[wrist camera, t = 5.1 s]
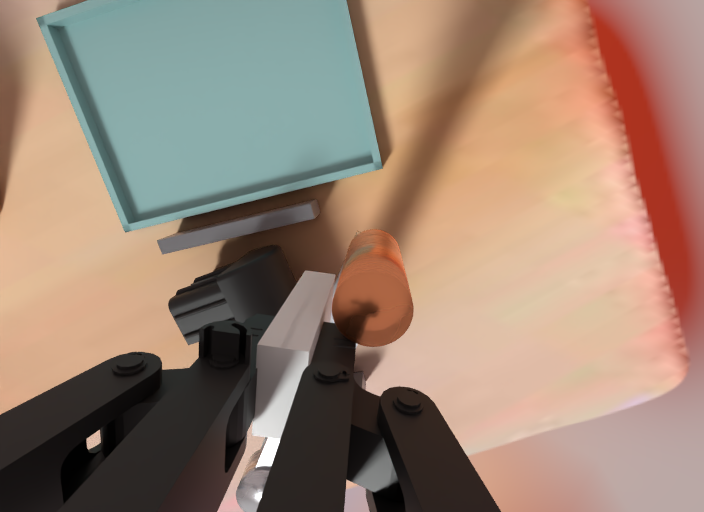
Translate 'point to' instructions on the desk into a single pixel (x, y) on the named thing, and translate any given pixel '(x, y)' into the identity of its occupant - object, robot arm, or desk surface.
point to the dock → (245, 227)
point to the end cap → (234, 292)
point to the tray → (213, 99)
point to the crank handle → (351, 325)
